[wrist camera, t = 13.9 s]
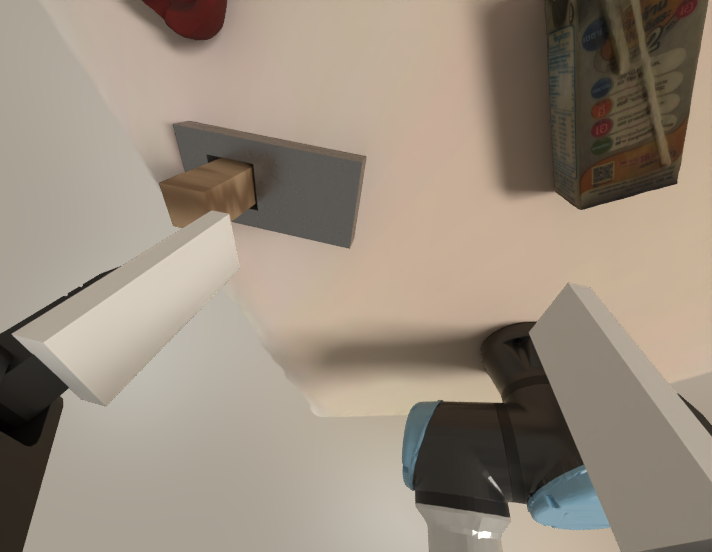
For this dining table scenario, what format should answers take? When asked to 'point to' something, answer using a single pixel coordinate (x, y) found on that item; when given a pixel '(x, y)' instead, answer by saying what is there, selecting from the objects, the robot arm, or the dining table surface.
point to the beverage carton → (620, 93)
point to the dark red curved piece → (191, 16)
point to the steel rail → (285, 181)
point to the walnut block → (210, 191)
